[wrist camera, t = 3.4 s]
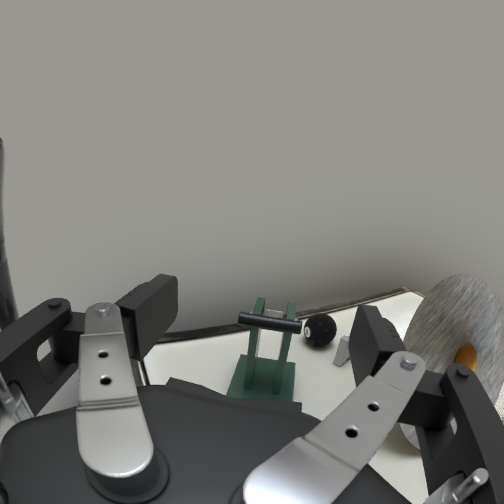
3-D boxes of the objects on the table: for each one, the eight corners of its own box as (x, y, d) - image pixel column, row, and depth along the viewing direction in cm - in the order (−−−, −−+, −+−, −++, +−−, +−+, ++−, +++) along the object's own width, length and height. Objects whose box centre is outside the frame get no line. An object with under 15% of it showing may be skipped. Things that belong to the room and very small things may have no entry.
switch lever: (299, 341, 23) (303, 314, 24) (235, 331, 24) (240, 304, 24) (293, 331, 36) (295, 313, 36) (251, 325, 36) (254, 307, 37)
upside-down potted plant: (462, 416, 36) (450, 299, 46) (525, 416, 20) (508, 266, 30) (351, 454, 35) (342, 314, 45) (400, 485, 19) (387, 280, 29)
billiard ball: (338, 348, 50) (345, 321, 48) (311, 354, 48) (318, 326, 46) (321, 332, 55) (327, 306, 53) (296, 337, 53) (301, 310, 51)
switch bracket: (289, 421, 32) (312, 339, 28) (222, 410, 33) (227, 325, 29) (294, 368, 44) (310, 293, 40) (240, 359, 45) (247, 283, 41)
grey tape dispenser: (333, 363, 45) (362, 343, 51) (339, 367, 44) (368, 346, 50) (341, 336, 44) (370, 319, 50) (347, 340, 42) (376, 321, 49)
